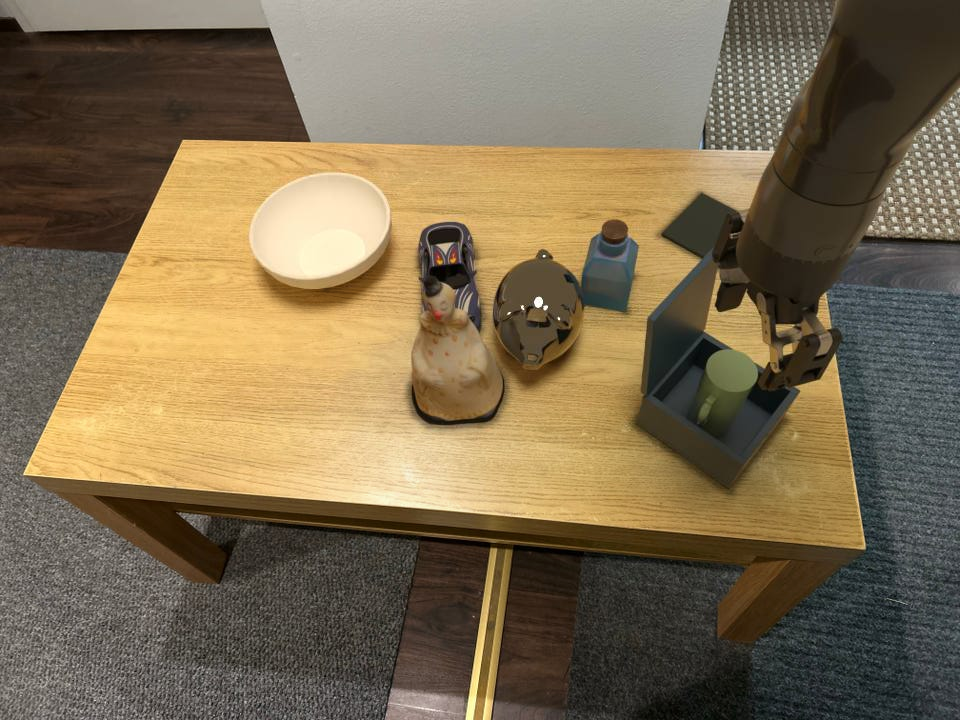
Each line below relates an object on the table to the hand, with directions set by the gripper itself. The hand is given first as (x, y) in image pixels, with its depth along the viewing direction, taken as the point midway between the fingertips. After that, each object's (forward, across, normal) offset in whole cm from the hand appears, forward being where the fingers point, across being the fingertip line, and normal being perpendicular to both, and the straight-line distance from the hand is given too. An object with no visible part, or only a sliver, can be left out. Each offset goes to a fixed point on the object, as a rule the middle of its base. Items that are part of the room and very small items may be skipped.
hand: (747, 344), depth 61 cm
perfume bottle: (+22, +25, +2) cm, 34 cm away
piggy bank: (+22, +20, +13) cm, 33 cm away
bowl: (+22, +43, +37) cm, 61 cm away
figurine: (+22, +16, +25) cm, 37 cm away
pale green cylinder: (+22, +3, -3) cm, 22 cm away
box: (+22, +3, -3) cm, 23 cm away
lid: (+8, +8, +1) cm, 12 cm away
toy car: (+22, +32, +22) cm, 45 cm away
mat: (+22, +29, -16) cm, 40 cm away
